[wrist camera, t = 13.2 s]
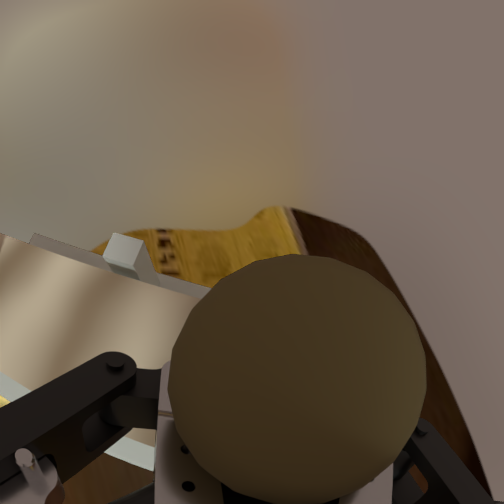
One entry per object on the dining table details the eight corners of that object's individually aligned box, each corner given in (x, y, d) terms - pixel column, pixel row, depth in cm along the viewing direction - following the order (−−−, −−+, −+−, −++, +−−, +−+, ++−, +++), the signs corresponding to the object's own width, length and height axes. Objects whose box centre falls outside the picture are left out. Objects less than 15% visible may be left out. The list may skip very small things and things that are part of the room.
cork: (211, 324, 16) (191, 174, 6) (328, 350, 16) (469, 247, 6) (179, 439, 13) (85, 497, 3) (304, 465, 13) (442, 538, 3)
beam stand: (303, 317, 24) (337, 280, 18) (261, 493, 18) (281, 530, 11) (39, 239, 25) (1, 189, 18) (-16, 380, 18) (-74, 362, 12)
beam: (318, 340, 18) (340, 322, 15) (288, 472, 14) (304, 488, 11) (-2, 241, 19) (-28, 214, 16) (-40, 335, 15) (-74, 318, 12)
